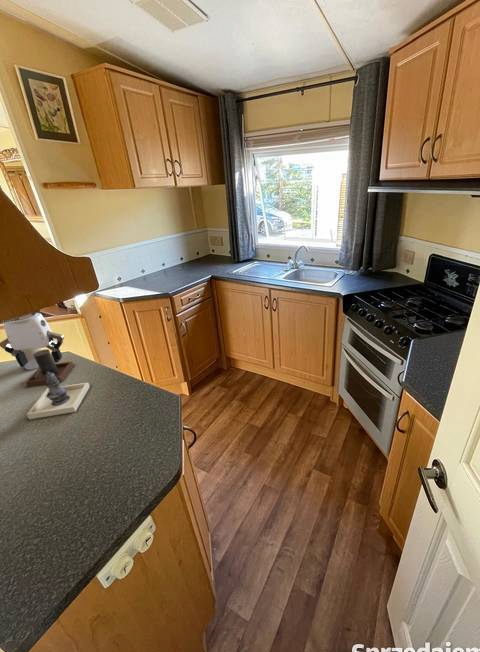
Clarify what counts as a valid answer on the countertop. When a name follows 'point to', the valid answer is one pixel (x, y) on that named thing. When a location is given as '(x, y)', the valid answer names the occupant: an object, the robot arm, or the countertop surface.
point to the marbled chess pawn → (55, 390)
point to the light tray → (47, 409)
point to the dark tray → (63, 371)
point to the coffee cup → (31, 358)
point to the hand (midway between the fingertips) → (41, 362)
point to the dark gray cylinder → (45, 362)
